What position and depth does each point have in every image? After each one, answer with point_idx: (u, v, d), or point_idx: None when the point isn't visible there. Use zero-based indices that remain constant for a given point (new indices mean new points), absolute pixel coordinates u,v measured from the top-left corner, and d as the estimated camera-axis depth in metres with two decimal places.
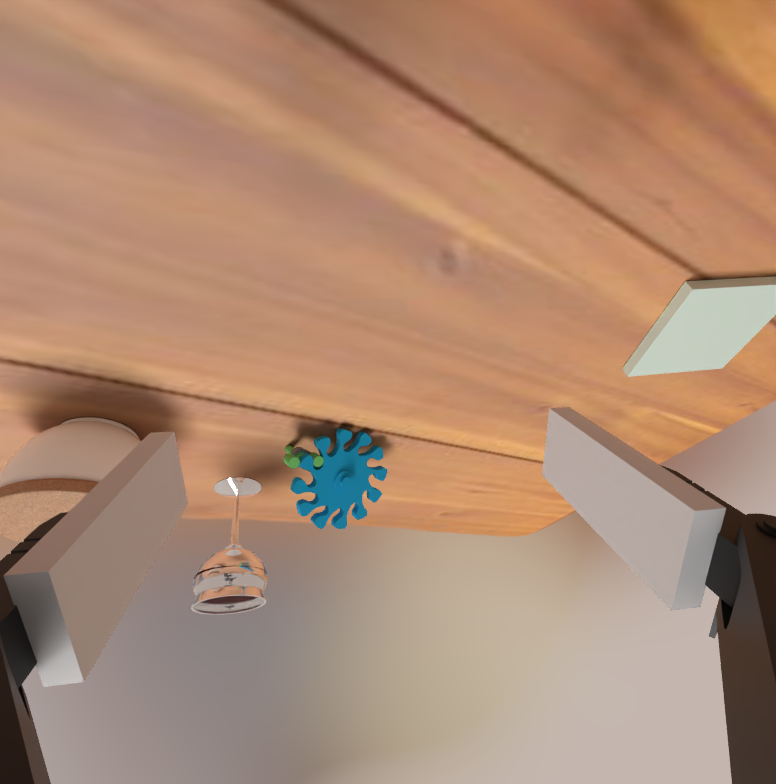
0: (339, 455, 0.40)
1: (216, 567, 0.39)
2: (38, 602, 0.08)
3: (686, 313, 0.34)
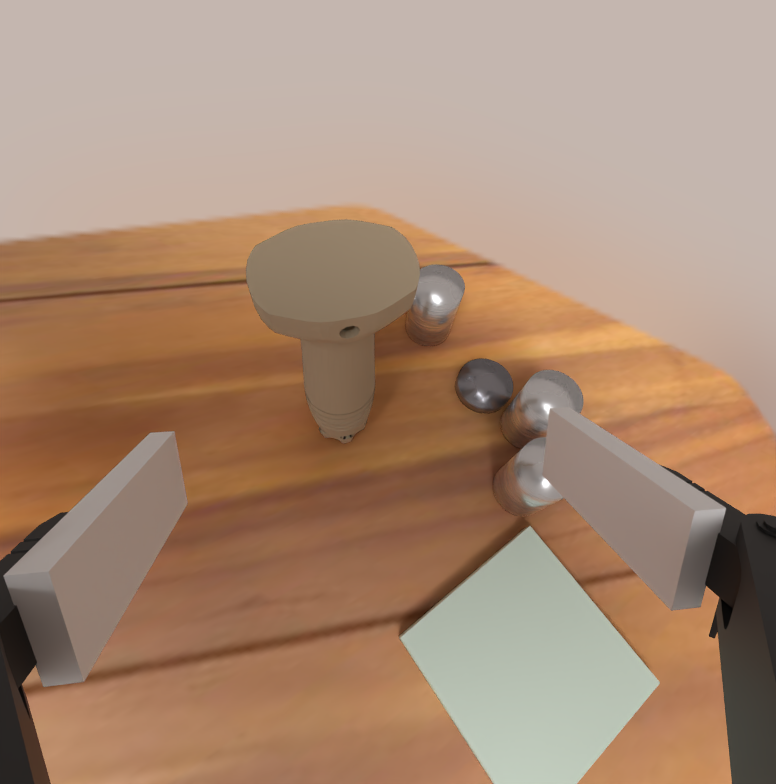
0: None
1: None
2: (38, 602, 0.08)
3: (444, 665, 0.22)
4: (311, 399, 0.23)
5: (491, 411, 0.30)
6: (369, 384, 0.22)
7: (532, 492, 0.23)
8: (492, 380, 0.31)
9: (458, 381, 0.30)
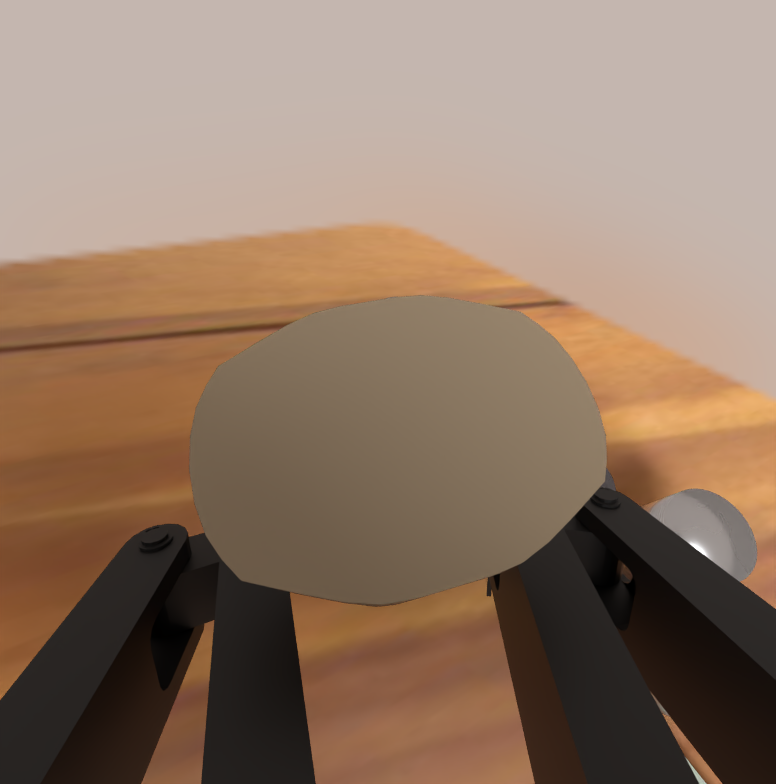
0: None
1: None
2: None
3: None
4: None
5: None
6: None
7: None
8: None
9: None
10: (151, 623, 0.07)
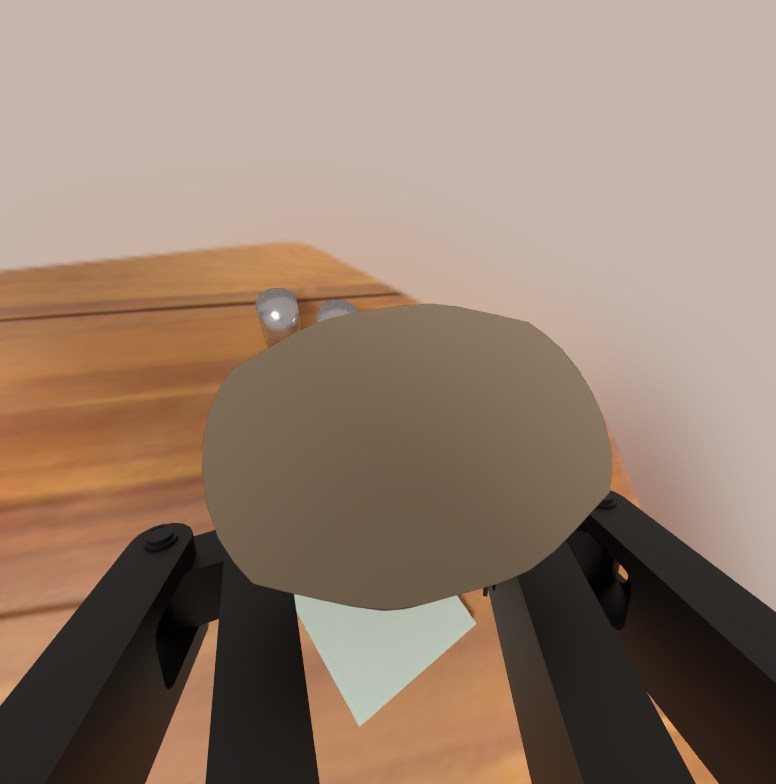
0: None
1: None
2: None
3: (313, 606, 0.30)
4: None
5: None
6: None
7: None
8: None
9: None
10: (156, 622, 0.07)
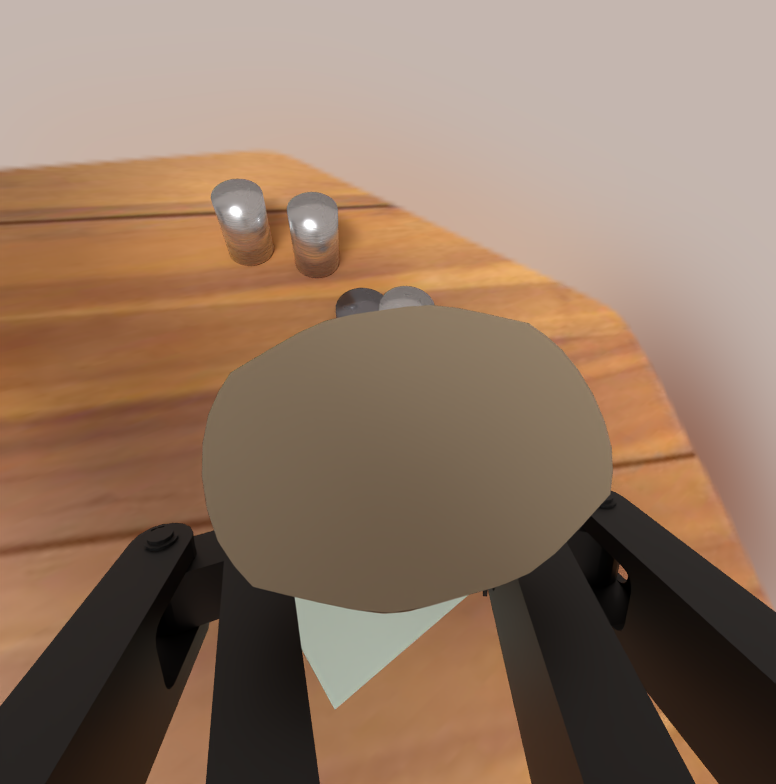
0: None
1: None
2: None
3: None
4: None
5: None
6: None
7: None
8: (369, 306, 0.31)
9: (336, 309, 0.31)
10: (156, 622, 0.07)
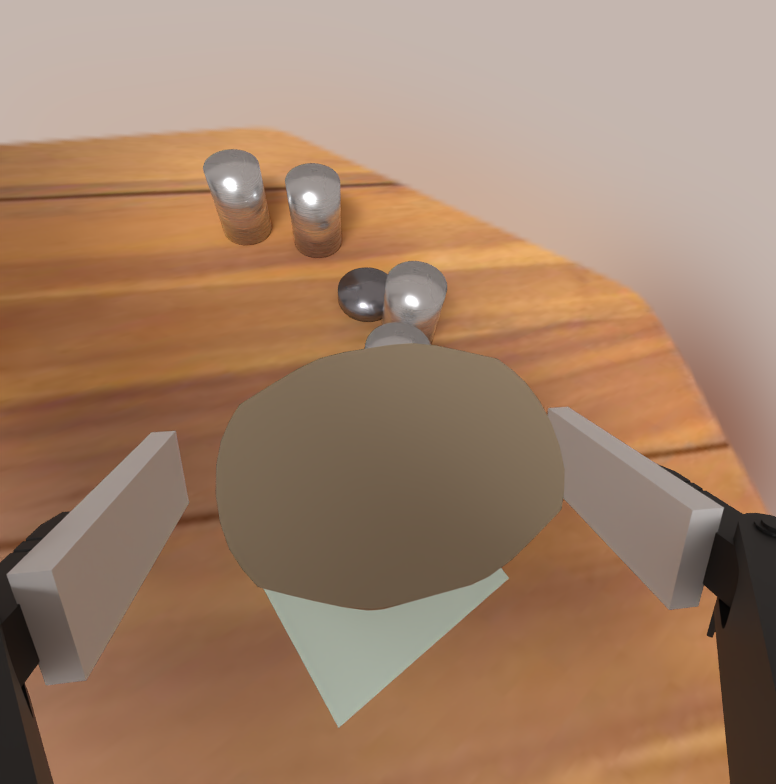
0: None
1: None
2: (41, 601, 0.08)
3: None
4: None
5: (374, 318, 0.29)
6: None
7: None
8: (374, 287, 0.29)
9: (338, 289, 0.29)
10: None
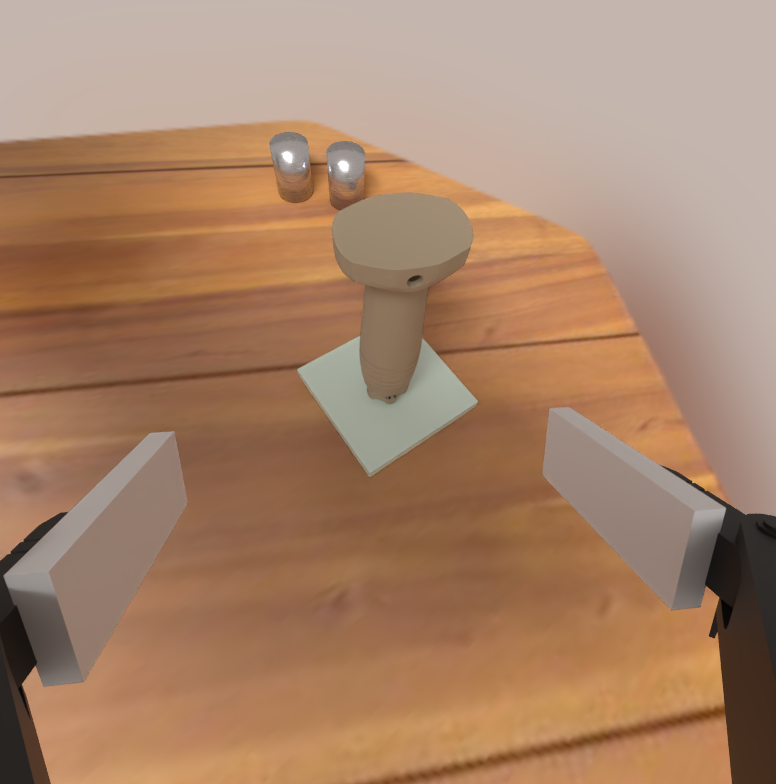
0: None
1: None
2: (38, 602, 0.08)
3: (325, 385, 0.32)
4: (366, 355, 0.26)
5: None
6: (418, 342, 0.26)
7: None
8: None
9: None
10: None
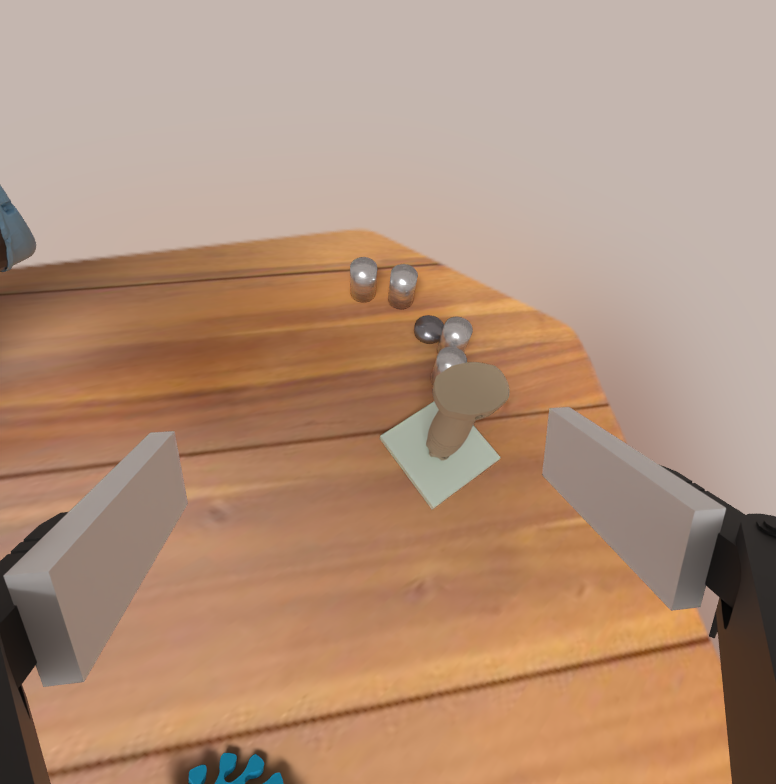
0: None
1: None
2: (38, 602, 0.08)
3: (400, 447, 0.49)
4: (436, 438, 0.43)
5: (434, 342, 0.57)
6: (469, 431, 0.42)
7: (442, 370, 0.50)
8: (433, 326, 0.57)
9: (415, 328, 0.57)
10: None
